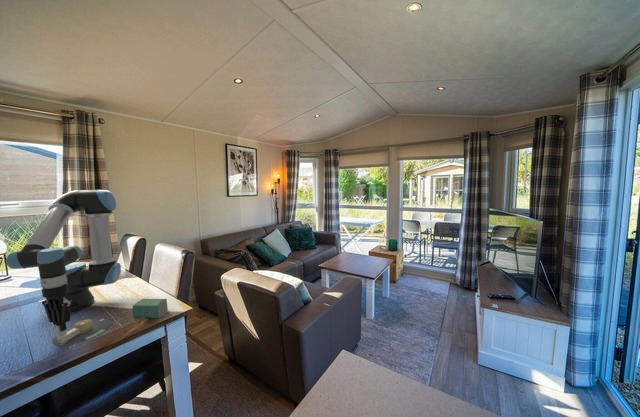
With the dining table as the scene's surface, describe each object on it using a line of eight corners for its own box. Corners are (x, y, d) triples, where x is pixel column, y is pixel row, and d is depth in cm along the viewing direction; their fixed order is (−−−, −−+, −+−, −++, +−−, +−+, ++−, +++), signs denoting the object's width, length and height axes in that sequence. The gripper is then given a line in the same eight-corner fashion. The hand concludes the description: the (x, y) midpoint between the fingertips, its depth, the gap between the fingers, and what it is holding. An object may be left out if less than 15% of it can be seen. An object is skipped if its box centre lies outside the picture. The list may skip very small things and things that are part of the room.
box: (143, 311, 132) (142, 298, 131) (168, 311, 132) (167, 298, 131) (132, 318, 125) (131, 305, 124) (159, 319, 125) (157, 305, 124)
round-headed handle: (84, 326, 116) (83, 319, 116) (96, 327, 116) (95, 319, 115) (52, 345, 103) (51, 337, 103) (65, 346, 103) (64, 337, 102)
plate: (38, 347, 104) (37, 344, 104) (86, 320, 124) (85, 317, 124) (82, 349, 103) (81, 346, 102) (123, 321, 122) (123, 318, 122)
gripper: (30, 288, 100) (38, 341, 103) (56, 290, 98) (64, 344, 101) (53, 280, 108) (60, 330, 111) (77, 282, 106) (84, 333, 108)
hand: (62, 337), depth 106 cm, fingers closed
